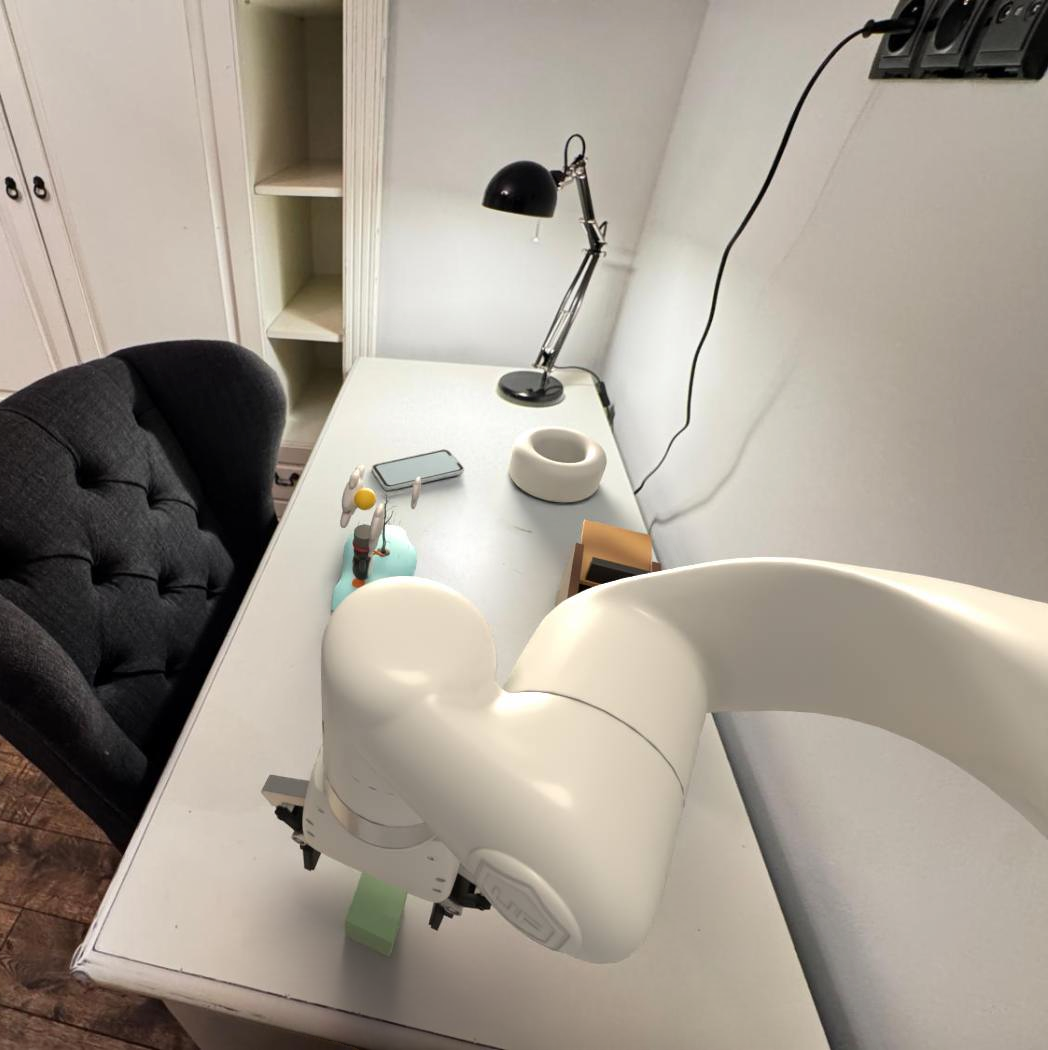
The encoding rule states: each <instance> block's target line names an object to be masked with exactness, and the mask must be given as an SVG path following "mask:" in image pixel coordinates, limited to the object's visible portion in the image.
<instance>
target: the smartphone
mask: <svg viewBox="0 0 1048 1050" xmlns="http://www.w3.org/2000/svg"><path fill="white" fill-rule="evenodd" d="M371 472H372V474H373V475H374V477H375V478H376V480H377V481H378V483H379V484H380V486H381V487H382V489H384V490H385V491H390V490H391V491H394V490H398V489H403V488H406V487H413V484H414V482H415V479H416V478H417V477H420V478H421V484H424V483H429V482H433V481H437V480H442V479H445V478H450V477H455V476H459V475H462V474H464V472H465V466H464V465H463V464H462V463H461V462H460V461H459V459H458V458H457V457H456V456H455V455H454V454H453V453H452V452H451V451H450V450H448V449H445V448H444V449H439V450H433V451H428V452H424V453H419V454H415V455H410V456H406V457H402V458H396V459H392V460H388V461H382V462H379V463H374V464H373V465H372V466H371ZM385 486H386V487H385ZM394 488H395V489H394ZM392 489H393V490H392Z"/></svg>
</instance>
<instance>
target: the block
mask: <svg viewBox="0 0 1048 1050" xmlns="http://www.w3.org/2000/svg"><path fill="white" fill-rule="evenodd" d="M359 877H360V878H359V880H358V883H357V885H356V889H355V892H354V895H353V897H352V899H351V903H350V907H349V908H348V911H347V915H346V917H345V921H344V922H345V923H344V925H345V927H344V931H345V932H344V936H345V937H347V938H348V939H351V940H352V941H354V942H356V943H359V944H361V945H363V946H365V947H367V948H369V949H371V950H372V951H375V952H377V953H380V954H382V955H383V956H386V957H387V958H391V956H392V953H393V949H394V946H395V942H396V939H397V935H398V931H399V928H400V925H401V921H402V918H403V914H404V911H405V908H406V902H407V898H408V895H409V893H407V892H404V891H402V890H400V889H398V888H395V887H393V886H391V885H389V884H386V883H384V882H382V881H380V880H378V879H375V878H373V877H371V876H369V875H367V874H364V873H362V872H361V874H360V876H359Z"/></svg>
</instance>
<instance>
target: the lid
mask: <svg viewBox="0 0 1048 1050" xmlns="http://www.w3.org/2000/svg"><path fill="white" fill-rule="evenodd" d="M652 537H653V535H652V534H647V533H643V532H640V531H635V530H631V529H626V528H623V527H618V526H614V525H611V524H605V523H601V522H597V521H593V520H588V519H584V520H583V521H582V529H581V535H580V542H579V543H580V544H584V552H583V559H582V567H581V574H580V582H579V583H580V584H584V585H588V586H591V587H596V586H599V585H602V584H606V583H610V582H613V581H617V580H621V579H625V578H630V577H634V576H639V575H644V574H649V573H651V571H650V563H651V561H652V560H653V559H652V558H653V556H652V552H653V549H652V547H653V546H652V543H653V541H652Z"/></svg>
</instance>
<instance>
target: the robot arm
mask: <svg viewBox="0 0 1048 1050" xmlns="http://www.w3.org/2000/svg"><path fill="white" fill-rule="evenodd" d="M498 666H499V665H498V651H497V645H496V640H495V638H494V634H493V633H492V629H491V628H490V626H489V623H488V622H487V620H486V618H485V617H484V616H483V614H482V613H481V612H480V611H479V609H478V608H477V607H476V606H475V605H474V603H473V602H472V601H470V600H469V599H468V598H466V597H465V596H464V595H462V593H460V592H458V591H457V590H455V589H453V588H452V587H450V586H448V585H445V584H443V583H441V582H438V581H435V580H431V579H429V578H423V577H418V576H412V577H389V578H384V579H379V580H376V581H373V582H370V583H368V584H366V585H364V586H362V587H360V588H358V589H357V590H355V591H354V592H352V593H351V594H350V595H348V596H347V597H346V598H345V599H344V600H343V601H342V602H341V603H340V604H339V605H338V606H337V608H336V609H335V611H332V614H331V615H330V617H329V619H328V621H327V623H326V626H325V628H324V632H323V635H322V640H321V649H320V680H321V681H320V687H321V688H320V689H321V691H320V692H321V695H320V696H321V725H322V727H321V729H322V730H321V731H322V733H321V734H322V737H321V738H322V742H321V745H320V747H319V749H318V752H317V754H316V758H315V761H314V764H313V766H312V769H311V773H310V775H309V776H310V777H309V780H307V779H301V778H294V777H289V776H282V775H277V774H276V775H275V774H269V775H268V777H267V779H266V781H265V783H264V785H263V787H262V788H261V791H260V793H261V794H262V796H263V797H264V799H266V800H267V803H269V804H270V805H271V806H272V807H274V808H275V810H274V812H273V813H274V815H275V816H276V818H277V820H279V821H280V822H283V823H284V824H286V825H287V826H288V827H289V828H290V829H292V830H293V831H292V834H291V835H290V838H291V840H292V841H293V842H295V844H298V845H299V849H300V850H301V851H302V859H303V869H304V870H306V871H309V872H312V871H315V870H316V867H317V864H318V862H319V859H320V857H321V855H324V856H327V857H329V858H331V859H332V860H334V861H337V862H339V863H341V864H343V865H345V866H347V867H349V868H351V869H353V870H356V871H358V872H359V873H361V874H362V873H364V874H367V875H369V876H371V877H373V878H375V879H378V880H380V881H382V882H384V883H386V884H389V885H391V886H393V887H395V888H398V889H400V890H402V891H404V892H407V893H408V895H411V896H414V897H416V898H419V899H421V900H423V901H426V902H429V903H433V904H432V909H431V911H430V917H429V920H428V926H430V929H432V930H434V931H436V932H438V931H439V928H440V926H441V924H442V922H443V919H444V917H446V918H449V919H451V920H452V919H453V918H454V916H457V917H461V916H462V915H463V910H464V908H467V909H475V910H479V911H481V912H484V911H489V910H491V908H492V907H493V908H494V909H495V910H496V912H498V913H499V915H500V916H501V917H502V918H503V919H504V920H505V921H506V922H507V923H508V924H510V925H511V926H512V927H514V928H515V929H516V930H517V931H519V932H520V933H522V934H523V935H524V936H526V937H527V938H529V939H530V940H532V941H533V942H535V943H537V944H539V945H540V946H542V947H544V948H546V949H549V950H551V951H552V952H557V953H561V954H566V955H567V956H569V957H571V958H574V959H577V960H580V961H583V962H587V963H589V964H597V965H608V964H616V963H619V962H621V961H624V960H626V959H628V958H630V957H631V956H632V955H633V954H634V953H636V952H637V951H638V950H639V949H640V948H641V947H642V945H644V943H645V942H646V940H647V939H648V937H649V935H650V933H651V931H652V929H653V926H654V923H655V920H656V918H657V916H658V912H659V910H660V907H661V903H662V900H663V895H664V891H665V887H666V883H667V879H668V875H669V870H670V866H671V863H672V862H671V861H672V858H673V854H674V848H675V845H676V840H677V836H678V833H679V832H678V831H679V828H680V824H681V819H682V815H683V811H684V808H685V804H686V800H687V797H688V791H689V787H690V783H691V780H692V779H691V778H692V774H693V770H694V766H695V761H696V756H697V753H698V749H699V745H700V740H701V736H702V733H703V730H704V726H705V721H706V717H707V714H715V713H732V712H735V713H736V712H737V713H738V712H792V713H793V712H795V713H807V714H809V713H810V714H818V715H824V716H830V717H837V718H843V719H848V720H851V721H854V722H859V723H861V724H865V725H868V726H872V727H876V728H879V729H882V730H884V731H887V732H890V733H892V734H894V735H897V736H900V737H902V738H904V739H907V740H909V741H912V742H915V743H916V744H918V745H920V746H922V747H923V748H925V749H927V750H928V751H931V752H933V753H934V754H936V755H938V756H940V757H941V758H944V759H946V760H948V761H949V762H950V763H952V764H953V765H955V766H957V767H958V768H960V769H961V770H963V771H964V772H966V773H967V774H968V775H970V776H972V778H974V779H976V781H978V782H980V783H982V784H983V785H984V786H986V788H988V789H989V790H990V791H991V792H993V793H994V794H995V795H996V796H998V797H999V798H1000V799H1002V800H1003V801H1004V802H1005V803H1006V804H1007V805H1009V806H1010V807H1012V809H1014V810H1015V811H1017V812H1018V814H1020V815H1021V816H1022V817H1023V818H1024V819H1025V820H1026V821H1027V822H1028V823H1029V824H1030V825H1031V826H1032V827H1033V828H1034V829H1036V830H1037V831H1038V833H1040V835H1041V836H1042V837H1044V838H1045V839H1046V840H1047V841H1048V603H1047V602H1043V601H1038V600H1033V599H1028V598H1025V597H1020V596H1016V595H1012V594H1009V593H1004V592H1001V591H995V590H992V589H988V588H983V587H979V586H976V585H971V584H967V583H962V582H957V581H952V580H948V579H943V578H938V577H933V576H927V575H923V574H916V573H909V572H902V571H896V570H889V569H884V568H883V569H882V568H876V567H869V566H861V565H855V564H850V563H849V564H848V563H842V562H841V563H840V562H834V561H827V560H820V559H810V558H801V557H780V556H777V557H776V556H774V557H773V556H756V557H737V558H730V559H721V560H714V561H708V562H703V563H702V562H701V563H697V564H692V565H686V566H681V567H675V568H670V569H664V570H661V571H659V572H654V573H649V574H644V575H639V576H634V577H630V578H625V579H621V580H617V581H613V582H610V583H606V584H602V585H599V586H596V587H593V588H590V589H588V590H585V591H583V592H581V593H579V594H577V595H575V596H573V597H570V598H568V599H567V600H565V601H563V602H562V603H561V604H559V605H558V606H557V607H556V608H555V607H554V608H553V609H552V610H551V611H549V613H548V614H547V615H545V617H543V619H542V620H541V622H540V623H539V625H538V626H537V628H536V629H535V631H534V633H533V634H532V635H531V637H530V639H529V640H528V642H527V644H526V646H525V647H524V649H523V650H522V652H521V654H520V656H519V657H518V659H517V661H516V663H515V664H514V667H513V669H512V670H511V672H510V674H509V676H508V677H507V679H506V681H505V683H504V685H503V686H502V688H501V687H500V685H499V684H498V681H497V675H498Z"/></svg>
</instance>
